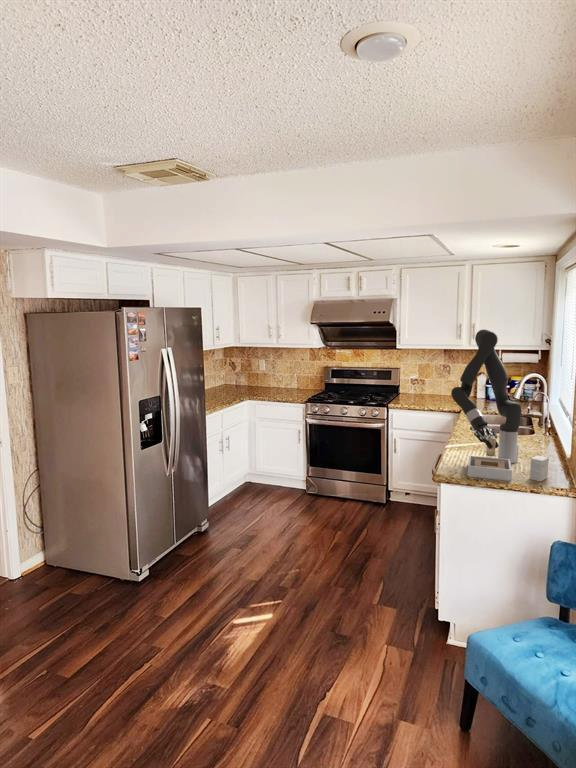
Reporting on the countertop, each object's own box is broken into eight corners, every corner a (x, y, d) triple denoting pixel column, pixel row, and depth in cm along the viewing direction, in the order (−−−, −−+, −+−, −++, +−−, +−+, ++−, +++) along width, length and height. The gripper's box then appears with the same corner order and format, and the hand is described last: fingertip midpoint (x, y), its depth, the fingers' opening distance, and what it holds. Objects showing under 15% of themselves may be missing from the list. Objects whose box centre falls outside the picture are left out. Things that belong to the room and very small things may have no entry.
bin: (468, 465, 275) (469, 455, 274) (509, 469, 268) (510, 459, 267) (467, 476, 257) (468, 465, 256) (511, 481, 250) (511, 470, 249)
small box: (535, 475, 259) (537, 455, 257) (547, 478, 255) (548, 457, 253) (529, 479, 253) (530, 458, 252) (540, 481, 249) (542, 460, 248)
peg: (489, 453, 264) (491, 436, 263) (496, 455, 260) (497, 438, 259) (484, 454, 262) (485, 437, 261) (490, 456, 258) (492, 439, 257)
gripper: (471, 416, 261) (489, 445, 253) (490, 414, 269) (508, 442, 260) (462, 424, 267) (479, 453, 258) (481, 422, 274) (498, 450, 265)
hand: (494, 447), depth 259 cm, fingers closed on peg, 4 cm apart
